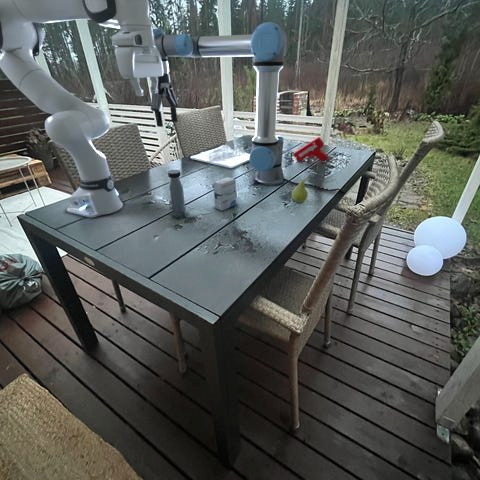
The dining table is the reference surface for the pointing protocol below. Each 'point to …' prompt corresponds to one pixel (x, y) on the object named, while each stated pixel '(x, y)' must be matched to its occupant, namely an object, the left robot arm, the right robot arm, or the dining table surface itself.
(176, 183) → the bottle
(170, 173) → the cap
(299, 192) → the fruit
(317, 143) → the toy gun
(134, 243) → the dining table surface
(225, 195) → the ink box
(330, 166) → the dining table surface
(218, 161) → the relief map
